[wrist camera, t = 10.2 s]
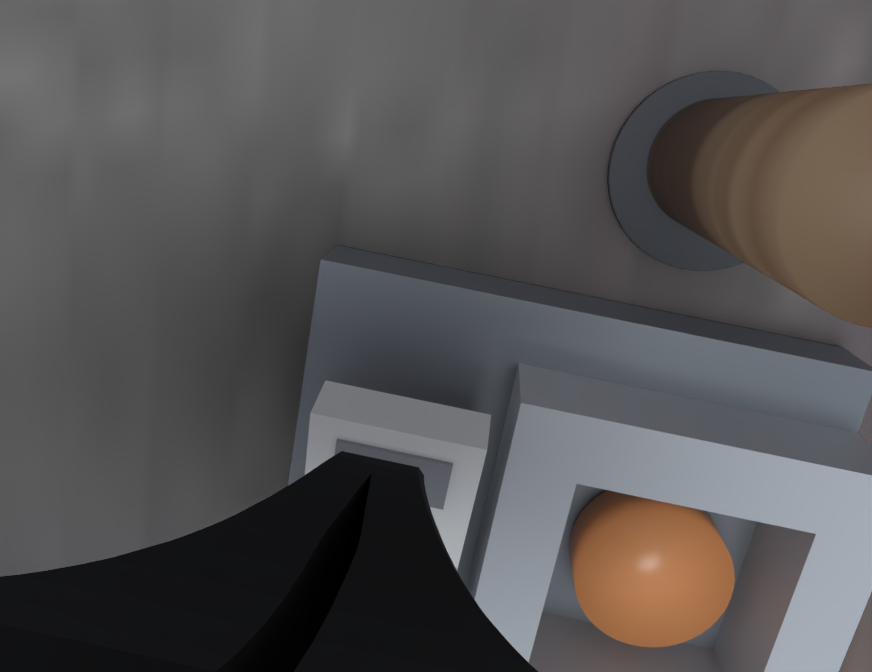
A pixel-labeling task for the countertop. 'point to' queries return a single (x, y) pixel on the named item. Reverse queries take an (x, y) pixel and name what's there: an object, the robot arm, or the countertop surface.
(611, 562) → the orange rounded piece
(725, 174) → the dowel
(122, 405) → the countertop surface
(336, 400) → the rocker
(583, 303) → the grey fixture with socket
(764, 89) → the coaster
